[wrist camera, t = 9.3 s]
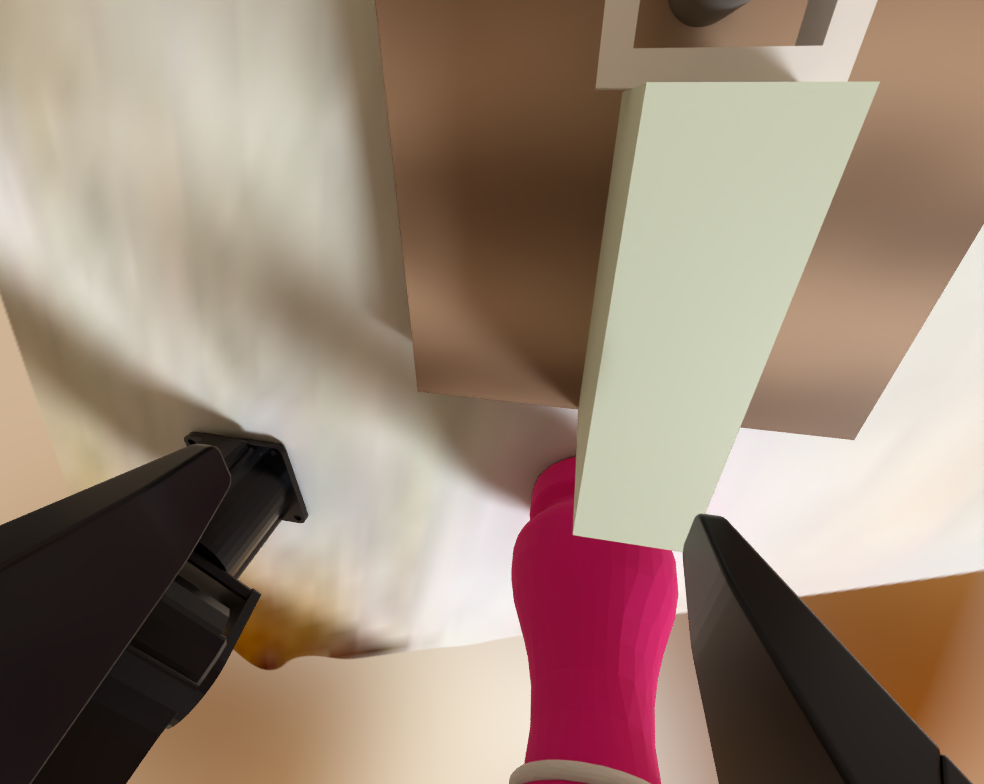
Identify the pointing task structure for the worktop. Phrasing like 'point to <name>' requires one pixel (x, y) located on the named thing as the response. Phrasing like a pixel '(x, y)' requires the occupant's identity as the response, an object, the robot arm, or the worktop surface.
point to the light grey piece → (702, 254)
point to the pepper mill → (589, 643)
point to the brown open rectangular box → (586, 179)
